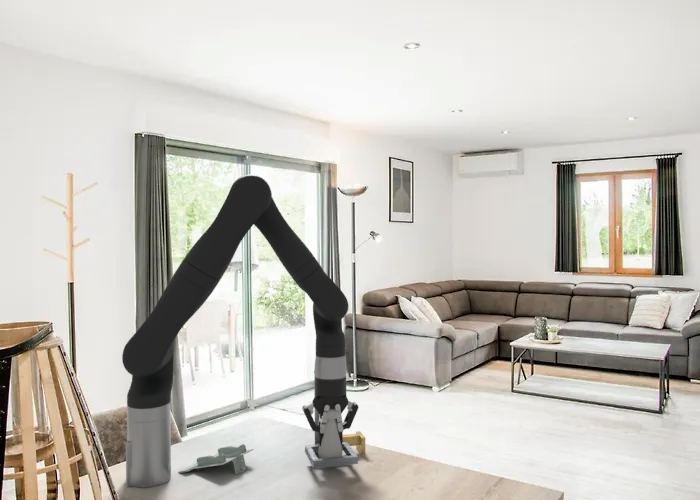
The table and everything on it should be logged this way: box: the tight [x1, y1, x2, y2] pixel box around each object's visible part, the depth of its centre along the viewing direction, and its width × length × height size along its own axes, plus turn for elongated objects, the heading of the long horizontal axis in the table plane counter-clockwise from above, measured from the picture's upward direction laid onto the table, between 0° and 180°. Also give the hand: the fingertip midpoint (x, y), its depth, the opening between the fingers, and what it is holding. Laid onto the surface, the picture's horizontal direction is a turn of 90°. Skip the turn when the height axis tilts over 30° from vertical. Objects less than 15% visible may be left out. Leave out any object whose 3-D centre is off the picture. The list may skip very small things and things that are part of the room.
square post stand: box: [304, 367, 366, 469], centre depth 141 cm, size 15×18×22 cm
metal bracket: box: [178, 443, 254, 475], centre depth 137 cm, size 14×6×15 cm
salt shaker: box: [318, 409, 343, 459], centre depth 136 cm, size 6×6×13 cm
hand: (330, 446), depth 136 cm, fingers closed on salt shaker, 3 cm apart
